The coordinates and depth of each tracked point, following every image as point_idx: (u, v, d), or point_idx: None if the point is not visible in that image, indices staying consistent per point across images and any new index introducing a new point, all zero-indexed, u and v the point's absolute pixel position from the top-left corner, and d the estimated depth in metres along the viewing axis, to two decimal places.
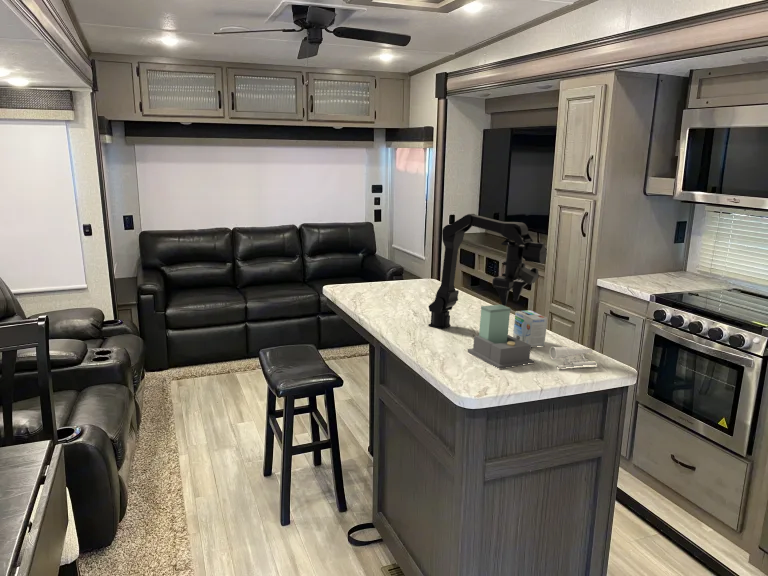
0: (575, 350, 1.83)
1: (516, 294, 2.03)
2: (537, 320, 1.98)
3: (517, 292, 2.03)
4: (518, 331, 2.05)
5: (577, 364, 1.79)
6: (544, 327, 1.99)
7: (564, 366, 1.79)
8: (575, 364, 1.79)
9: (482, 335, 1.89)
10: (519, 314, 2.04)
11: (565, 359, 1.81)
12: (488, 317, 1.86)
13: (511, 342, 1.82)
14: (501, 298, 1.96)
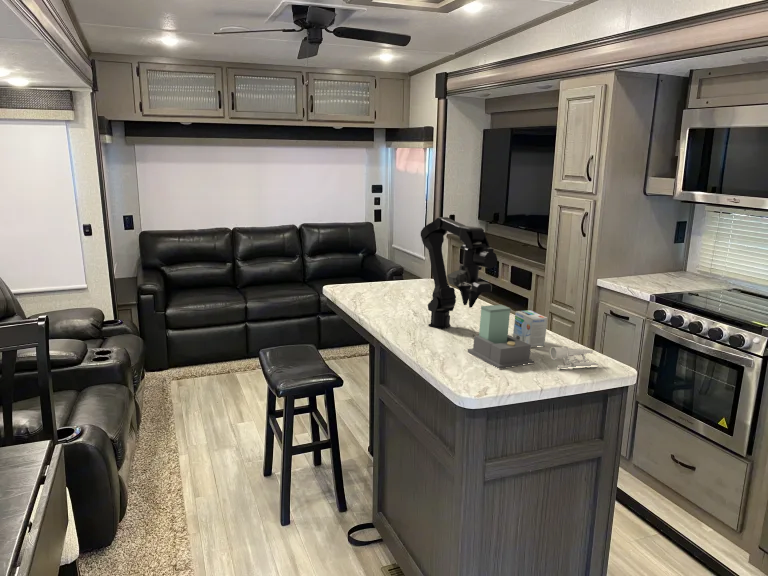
0: (575, 350, 1.83)
1: None
2: (537, 320, 1.98)
3: None
4: (518, 331, 2.05)
5: (577, 364, 1.79)
6: (544, 327, 1.99)
7: (564, 366, 1.79)
8: (575, 364, 1.78)
9: (482, 335, 1.89)
10: (519, 314, 2.04)
11: (565, 359, 1.81)
12: (488, 317, 1.86)
13: (511, 342, 1.82)
14: None
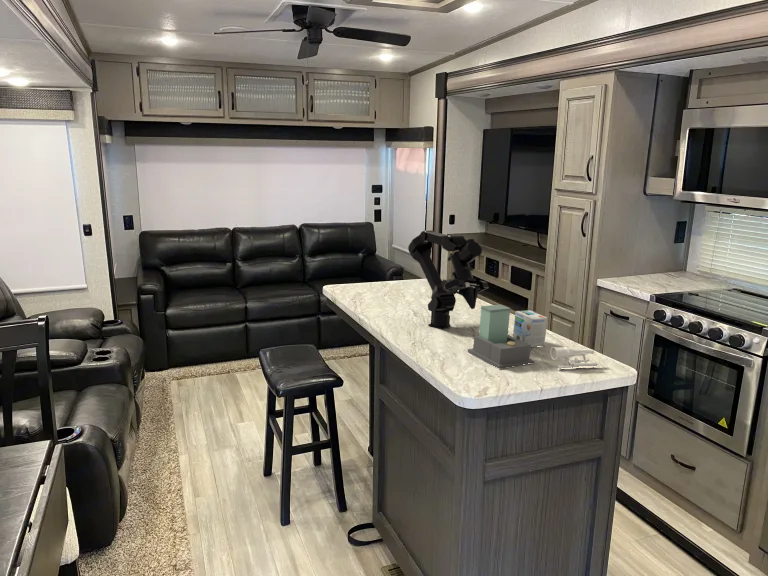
0: (576, 351, 1.82)
1: None
2: (537, 320, 1.98)
3: None
4: (518, 331, 2.05)
5: (578, 365, 1.78)
6: (544, 327, 1.99)
7: (564, 367, 1.79)
8: (575, 365, 1.78)
9: (482, 335, 1.89)
10: (519, 314, 2.04)
11: (566, 360, 1.81)
12: (488, 317, 1.86)
13: (511, 342, 1.82)
14: None
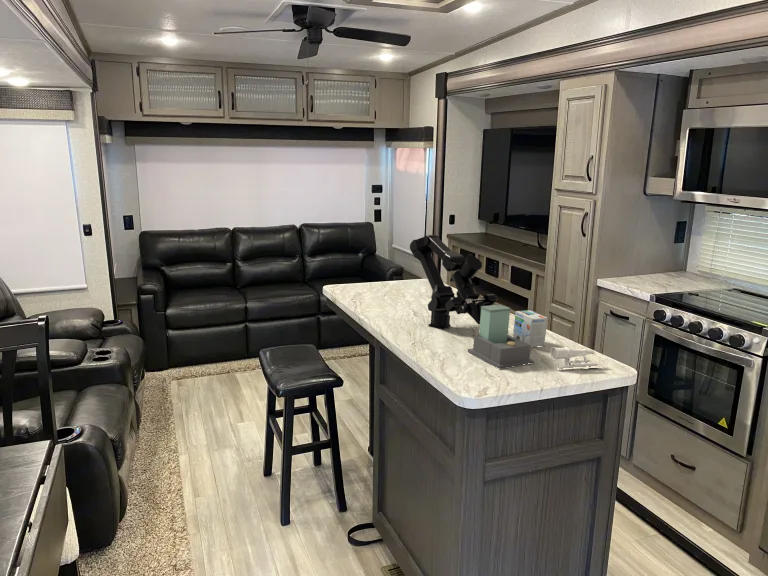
0: (577, 351, 1.82)
1: None
2: (537, 320, 1.98)
3: None
4: (518, 331, 2.05)
5: (578, 365, 1.78)
6: (544, 327, 1.99)
7: (565, 367, 1.79)
8: (576, 365, 1.78)
9: (482, 335, 1.89)
10: (519, 314, 2.04)
11: (566, 360, 1.80)
12: (488, 317, 1.86)
13: (511, 342, 1.82)
14: None
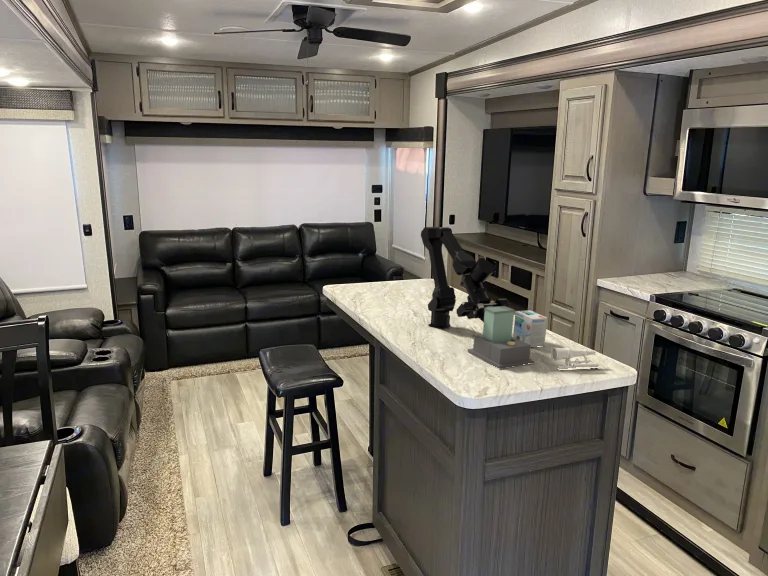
0: (577, 351, 1.82)
1: None
2: (537, 320, 1.98)
3: None
4: (518, 331, 2.05)
5: (578, 365, 1.78)
6: (544, 327, 1.99)
7: (565, 367, 1.79)
8: (576, 365, 1.78)
9: (486, 337, 1.88)
10: (519, 314, 2.04)
11: (566, 360, 1.80)
12: (492, 318, 1.84)
13: (511, 342, 1.82)
14: None
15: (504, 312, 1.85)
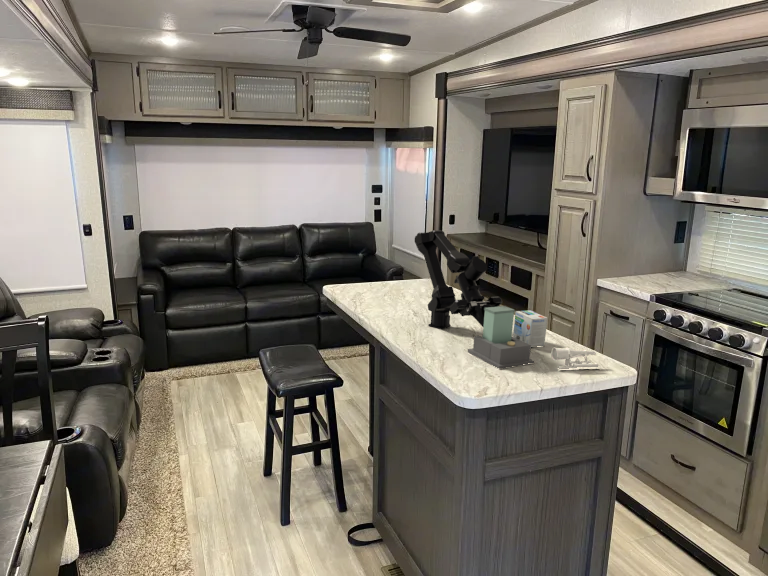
0: (577, 352, 1.82)
1: None
2: (537, 320, 1.98)
3: None
4: (518, 331, 2.05)
5: (578, 366, 1.78)
6: (544, 327, 1.99)
7: (565, 367, 1.78)
8: (576, 365, 1.77)
9: (486, 337, 1.88)
10: (519, 314, 2.04)
11: (566, 360, 1.80)
12: (492, 318, 1.84)
13: (511, 342, 1.82)
14: None
15: (504, 312, 1.85)
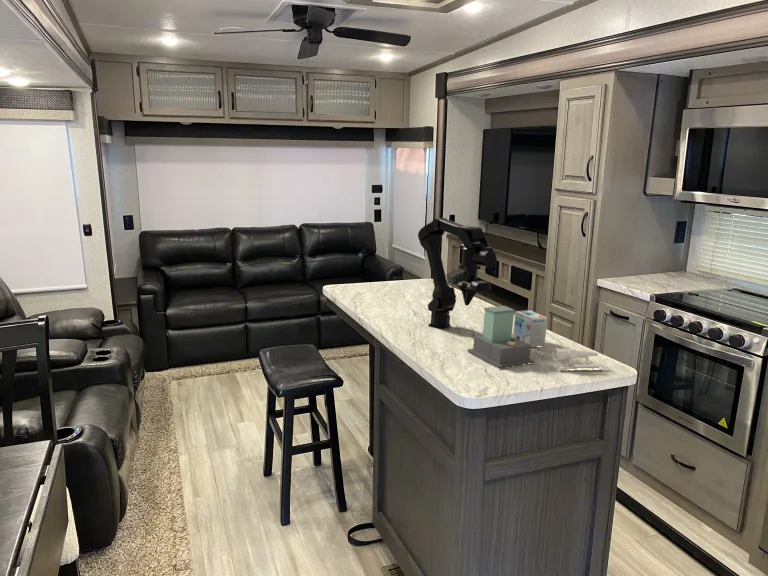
0: (579, 352, 1.81)
1: None
2: (537, 320, 1.98)
3: None
4: (518, 331, 2.05)
5: (579, 366, 1.77)
6: (544, 327, 1.99)
7: (565, 368, 1.78)
8: (576, 366, 1.77)
9: (486, 337, 1.88)
10: (519, 314, 2.04)
11: (567, 361, 1.79)
12: (492, 318, 1.84)
13: (511, 342, 1.82)
14: None
15: (504, 312, 1.85)
